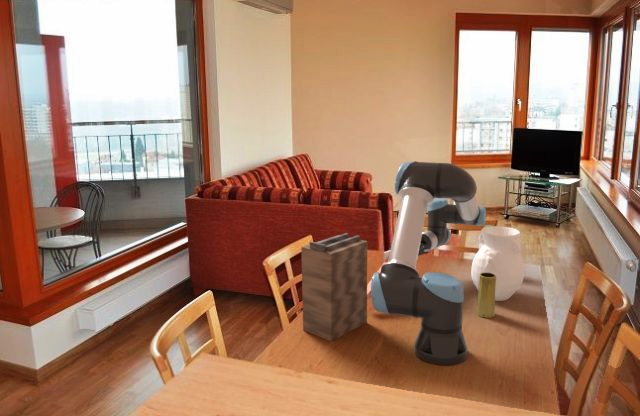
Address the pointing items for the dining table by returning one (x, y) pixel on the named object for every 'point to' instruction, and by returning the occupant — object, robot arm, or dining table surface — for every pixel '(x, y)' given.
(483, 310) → the vase
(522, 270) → the pitcher
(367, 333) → the dining table surface
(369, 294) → the lever bar
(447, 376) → the dining table surface
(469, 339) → the dining table surface
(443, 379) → the dining table surface
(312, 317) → the stand
